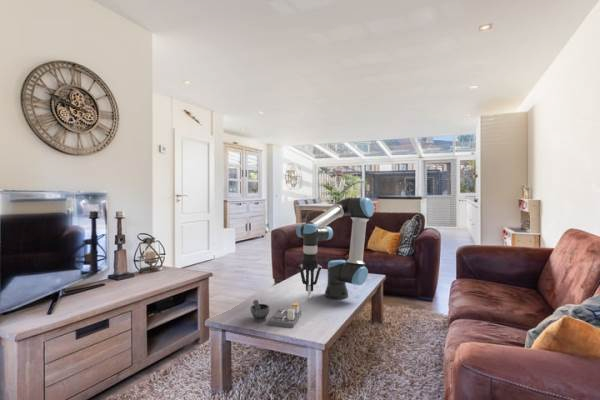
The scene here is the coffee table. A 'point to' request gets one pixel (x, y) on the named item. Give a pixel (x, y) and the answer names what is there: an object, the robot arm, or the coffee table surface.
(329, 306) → the coffee table surface
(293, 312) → the fader
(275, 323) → the console
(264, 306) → the mortar and pestle
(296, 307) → the fader
